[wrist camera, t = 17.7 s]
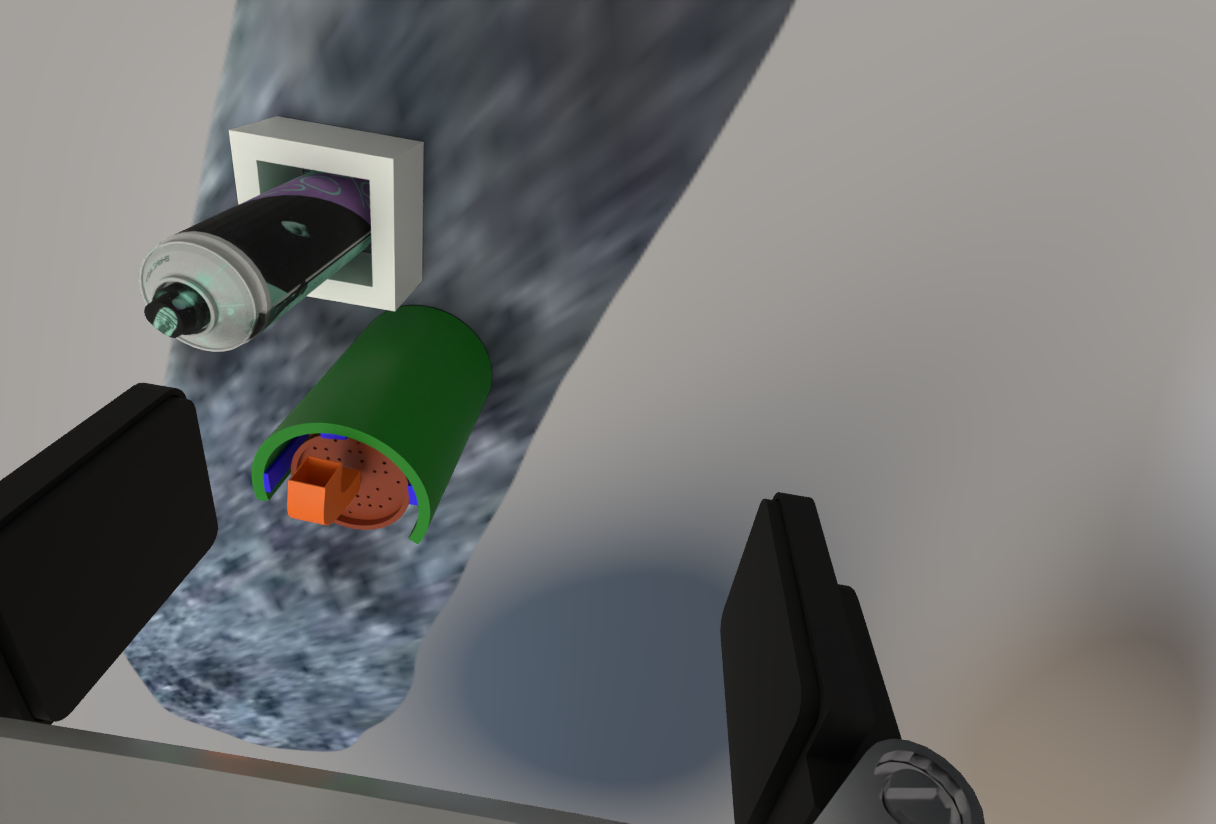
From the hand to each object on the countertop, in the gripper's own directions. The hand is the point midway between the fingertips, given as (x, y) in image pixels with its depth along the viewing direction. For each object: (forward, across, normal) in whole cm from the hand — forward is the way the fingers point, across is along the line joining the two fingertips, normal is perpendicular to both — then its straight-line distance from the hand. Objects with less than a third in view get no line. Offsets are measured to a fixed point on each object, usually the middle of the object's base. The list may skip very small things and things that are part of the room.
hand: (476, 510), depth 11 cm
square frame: (+36, +17, +7) cm, 41 cm away
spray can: (+36, +17, +7) cm, 41 cm away
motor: (+36, +12, +18) cm, 42 cm away
